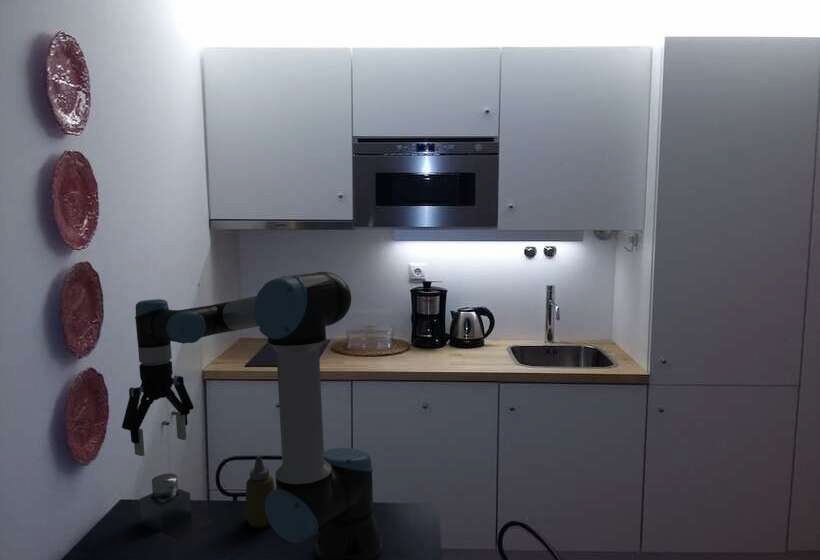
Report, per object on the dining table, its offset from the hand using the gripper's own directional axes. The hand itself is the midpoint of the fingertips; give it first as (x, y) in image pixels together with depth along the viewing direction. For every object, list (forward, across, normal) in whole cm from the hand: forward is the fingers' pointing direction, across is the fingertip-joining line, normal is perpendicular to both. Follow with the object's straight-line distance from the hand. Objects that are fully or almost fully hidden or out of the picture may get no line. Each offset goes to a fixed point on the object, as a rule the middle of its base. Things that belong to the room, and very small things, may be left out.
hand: (161, 446), depth 151 cm
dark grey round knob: (+19, 0, 0) cm, 19 cm away
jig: (+20, 0, +4) cm, 20 cm away
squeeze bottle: (+20, -11, +23) cm, 32 cm away
